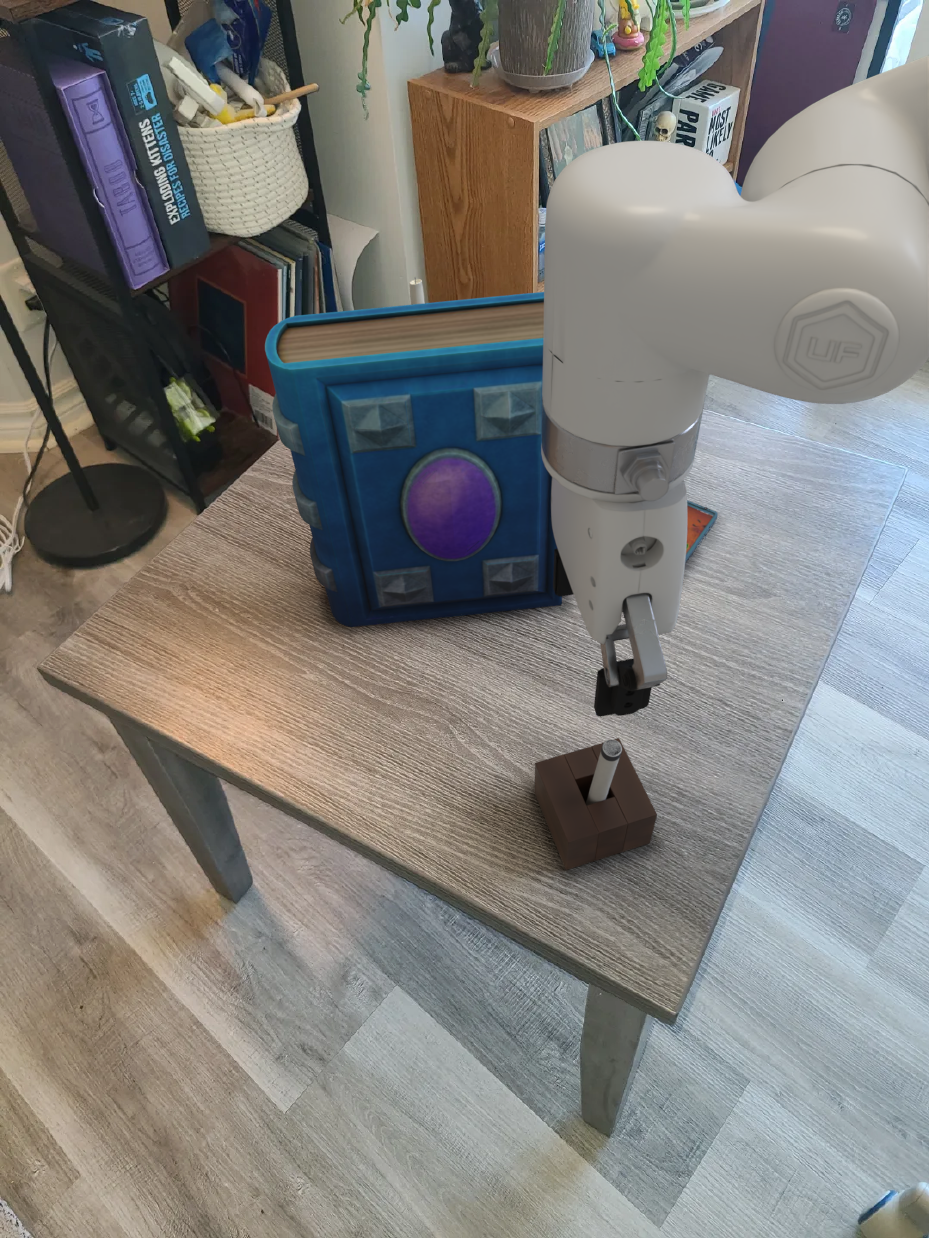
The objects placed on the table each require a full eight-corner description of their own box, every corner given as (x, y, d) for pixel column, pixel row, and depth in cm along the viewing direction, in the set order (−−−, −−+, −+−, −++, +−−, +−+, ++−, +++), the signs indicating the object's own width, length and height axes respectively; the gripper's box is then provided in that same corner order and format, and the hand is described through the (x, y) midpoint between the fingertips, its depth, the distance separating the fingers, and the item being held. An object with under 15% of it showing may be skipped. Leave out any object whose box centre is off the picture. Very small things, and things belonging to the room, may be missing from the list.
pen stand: (614, 768, 78) (619, 737, 74) (650, 843, 73) (657, 814, 69) (534, 792, 77) (534, 762, 73) (565, 870, 72) (568, 842, 68)
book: (322, 641, 89) (252, 384, 65) (322, 576, 94) (259, 318, 71) (564, 616, 89) (580, 353, 66) (550, 553, 95) (560, 290, 72)
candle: (397, 391, 114) (383, 278, 102) (427, 373, 116) (416, 260, 104) (425, 408, 112) (413, 294, 100) (455, 390, 114) (447, 275, 102)
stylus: (595, 806, 75) (617, 736, 65) (602, 822, 75) (625, 753, 64) (579, 811, 75) (599, 741, 64) (586, 826, 74) (606, 759, 64)
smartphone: (582, 571, 92) (651, 484, 99) (582, 579, 93) (650, 494, 100) (654, 601, 88) (720, 510, 96) (654, 610, 89) (719, 519, 97)
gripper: (764, 538, 38) (703, 750, 51) (639, 321, 49) (615, 541, 62) (593, 568, 38) (576, 775, 51) (505, 341, 49) (509, 559, 62)
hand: (597, 646), depth 56 cm, fingers open, 9 cm apart
